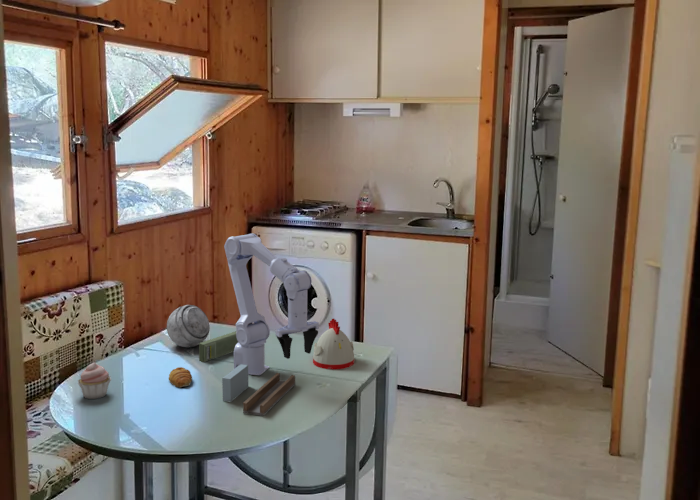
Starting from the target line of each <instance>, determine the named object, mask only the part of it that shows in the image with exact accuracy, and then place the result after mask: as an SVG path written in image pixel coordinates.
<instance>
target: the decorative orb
mask: <svg viewBox="0 0 700 500" xmlns="http://www.w3.org/2000/svg"><path fill="white" fill-rule="evenodd" d="M210 325H211V324H210V322H209V319H208V316H207V315H206V313H205V312H204V311H203V310H202V309H201V308H200V307H198V306H196V305H193V304H185V305H182V306H179V307H178V308H176V309H174V310H173V311H172V312H171V314H170V315H169V316H168V319H167V322H166V331H167V335H168V337H169V339H170V340H171V341H172V342H173V344H175V345H177V346H179V347H182V348H193V347H197V346H199V343H201V342H204V341H206V339H207V338H208V336H209V335H210V331H211V326H210Z"/></svg>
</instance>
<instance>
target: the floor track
mask: <svg viewBox="0 0 700 500" xmlns="http://www.w3.org/2000/svg"><path fill="white" fill-rule="evenodd" d="M294 386H296V375H294V374H291V375H290V376H288V378H287V379H286V380H283V379H282V380H281V375H280V373H279V372H276V373H275V374H274V375H272V376H271V378H270V379H268V380H267V381H266V382H265V383H264V384H263V385H261V387H259V388H258V389H257V390H256V391H255V392H254V393H252V395H250V396H249V397H248V398H247V399H245V401H243V402H242V411H243V412H242V413H243V414H245V415H246V414H248V415H253V416H254V415H255V416H260V417H264V416H265V415H266V414H267V413H268V412H269V411H270V410H271V409H272V408H273V407H274V406H275V405H276V404H277V403H278V402H279V401H280V400H281V399H283V397H284V396H285V395H286V394H287V393H288V392H289V391H291V389H292V388H293V387H294Z"/></svg>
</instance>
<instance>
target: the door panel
mask: <svg viewBox="0 0 700 500" xmlns="http://www.w3.org/2000/svg"><path fill="white" fill-rule="evenodd" d="M221 383H222V384H221V386H222V401H223V402H229V403H231V402H233V401H234V400H235V399H236V398H237V397H238V396H240V395H241V394H242V393H243V392H244V391H245V390H246V389H248V388H249V374H248V365H243V364H240V365H239V366H238V367H236V368H235V369H234V368H233V369H232V370H231V371H229V372H228V373H227V374H226V375H224V376H223V377H222V381H221Z"/></svg>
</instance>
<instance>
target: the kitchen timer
mask: <svg viewBox="0 0 700 500" xmlns="http://www.w3.org/2000/svg"><path fill="white" fill-rule="evenodd" d="M327 324H328V329H326V331H324V332H323V333H322V334H321V335H320V336H319V338H318V339H317V341H316V342H314V347H313V356H312V364H313V365H314V366H315V367H317V368H320V369H324V370H325V369H326V370H343V369H346V368H347V369H348V368H350V367H352V366H353V365H354V364H355V353H354V350H355V349H354V342H353V341H350V338H349V337H348V336H347V335H346V334H345V332H344V331H343V330H341V326H339V321H337V319H335V318H331V320H329V322H328V323H327Z"/></svg>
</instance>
